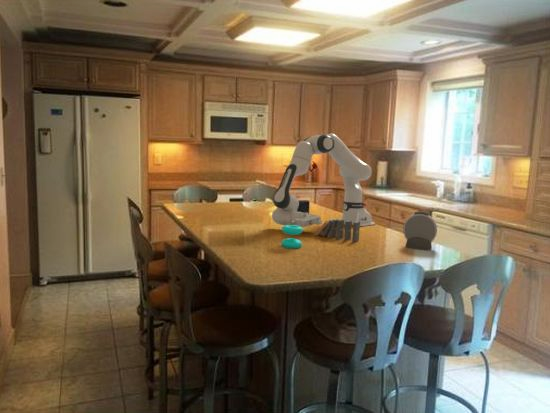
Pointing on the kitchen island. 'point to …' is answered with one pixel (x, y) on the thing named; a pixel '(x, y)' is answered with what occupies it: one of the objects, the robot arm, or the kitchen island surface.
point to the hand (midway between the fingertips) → (320, 222)
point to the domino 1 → (321, 228)
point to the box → (303, 206)
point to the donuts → (290, 241)
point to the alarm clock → (420, 231)
